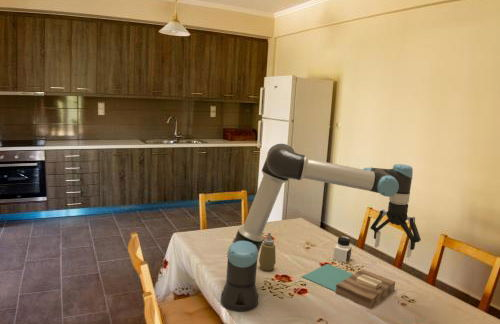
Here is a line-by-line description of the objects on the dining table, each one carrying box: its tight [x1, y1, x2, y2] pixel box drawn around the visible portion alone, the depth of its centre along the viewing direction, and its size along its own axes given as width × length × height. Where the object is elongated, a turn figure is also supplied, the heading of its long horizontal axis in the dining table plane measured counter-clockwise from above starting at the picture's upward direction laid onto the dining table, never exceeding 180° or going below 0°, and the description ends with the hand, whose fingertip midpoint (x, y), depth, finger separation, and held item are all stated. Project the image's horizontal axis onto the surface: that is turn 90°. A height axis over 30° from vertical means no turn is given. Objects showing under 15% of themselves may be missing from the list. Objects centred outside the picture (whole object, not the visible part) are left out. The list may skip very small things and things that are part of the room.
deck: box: [335, 268, 396, 309], centre depth 170 cm, size 24×16×4 cm, turn 137°
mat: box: [301, 263, 355, 293], centre depth 182 cm, size 22×18×1 cm
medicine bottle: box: [332, 236, 352, 264], centre depth 203 cm, size 7×7×12 cm
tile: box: [356, 274, 382, 290], centre depth 169 cm, size 6×9×2 cm, turn 47°
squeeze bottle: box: [258, 232, 277, 272], centre depth 186 cm, size 8×8×18 cm
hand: (392, 251), depth 161 cm, fingers open, 13 cm apart
